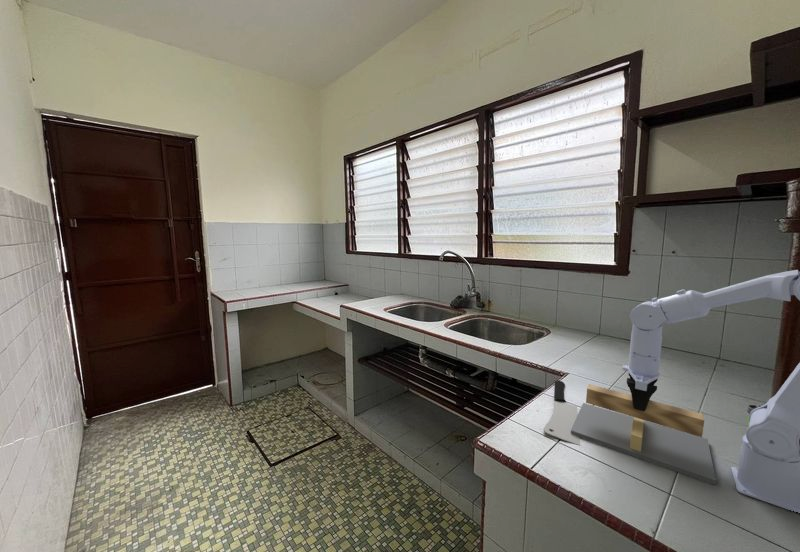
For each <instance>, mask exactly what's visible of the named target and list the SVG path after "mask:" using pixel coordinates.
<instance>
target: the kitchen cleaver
mask: <svg viewBox="0 0 800 552" xmlns="http://www.w3.org/2000/svg"><path fill="white" fill-rule="evenodd" d="M553 383H554V384H553V385H554V386H553V387H554V388H553V389H554V391H553V392H554V393H553V401H554V403H553V412H552V415H551V417H550V418H549V421H548V423H546V425H545V426H544V427H543V432H544V433H545V434H548V435H549V436H552V437H554V438H557V439H558V440H559V439H560V440H562V441H565V442H568V443H570V444H574V445H577V446H581V437H578V436H576V435H574V434H571V429H572V426H573V424H574V422H575V420H576V418H577V415H578V413H579V411H578V405H573V404H571V403H568V402H567V400H566V399H565V393H564V392H565V387H566V384H565V383H564V382H563V381H562V380H555V381H554V382H553Z"/></svg>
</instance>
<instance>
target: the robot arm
mask: <svg viewBox="0 0 800 552" xmlns="http://www.w3.org/2000/svg"><path fill="white" fill-rule="evenodd" d="M792 296H795V297H796V299H797V300H798V301H800V271H799V270H798V269H794V270H788V271H783V272H777V273H773V274H767V275H764V276H761V277H757V278H752V279H750V280H746V281H743V282H740V283H739V282H738V283H735V284H733V285H732V284H731V285H729V286H726V287H721V288H718V289H716V290H715V289H714V290H712V291H708V292H707V291H706V292H700V291H697V290H693V289H691V290H690V289H689V290H687V291H686V289H684V288H683V289H681V290H677V291H676V293H675V294H673V295H668V296H665V297H661V298H658V297H653V298H651V301H649V300H648V301H644V302H642V303H640V304H638V305H637V306H634V307H633V308H632V309H631V310H630V313H629V320H630V322H631V324H632V328H631V329H632V330H631V333H630V345H629V355H628V356H629V357H628V365H626V364H623V365H622V368H621V369H622V371H625V372H628V376H629V377H627V378H626V384H627V387H628V389H629V392H630V393H631V394H630V395H632V402H633V407H634V409H637V410H640V411H645V410H646V408H647V405H648V402H649V400H651V397H652V396H653V395H654V393H656V391H657V390H658V386H657V385H655V384H656V383H657V382H658V379H659V378H660V375H661V374H660V366H661V365H660V363H661V355H662V354H661V352H662V343H663V324H669V325H670V324H675V323H680V322H684V321H689V320H694V319H698V318H702V317H706V316H707V315H708V314H709V312H710V311H711V309H713V308H718V307H723V306H728V305H733V304H738V303H742V302H748V301H753V300H758V299H762V298H770V299H775V300H778V301H786V302H791V301H792V300H791V298H792ZM739 452H740V453H739V458H738V465H737V466H738V467H736V466H731V467H730V470H731V473H732V477H733V480H734V483H735V488H736V491H737V492H738V493H740V494H743V495H745V496H749V497H751V498H754V499H757V500H759V501H762V502H765V503H768V504H771V505H773V506H777V507H779V508H783V509H786V510H788V511H790V510H791V512H793V511H794V512H793V513H796V512H800V362H799V363H798V364H797V365H796V367H795V368H794V370H793V371H792V372H791V373H790V374H789V376H788V377H787V379H786V380H785V381H784V383H783V384H782V385H781V387H780V388H779V389H778V391H776V394H775V395H774V396H772V397H770V399H768V400H767V402H766V403H765V404H764V405H762V406H758V407H755V408H753V410H751V412H750V413H749V424H748V427H747V428H746V431H745V434H743V436H742V440H741V447H740V451H739Z"/></svg>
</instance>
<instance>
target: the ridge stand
mask: <svg viewBox="0 0 800 552" xmlns="http://www.w3.org/2000/svg"><path fill="white" fill-rule="evenodd" d="M571 434H574V435H576V436H578V437H580V439H583V440H587V441H590V442H593V443H595V444H598V445H601V446H604V447H607V448H609V449H612V450H615V451H617V452H621V453H623V454H627V455H629V456H633V457H634V458H638V459H641V460H643V461H646V462H648V463H652V464H655V465H657V466H660V467H663V468H665V469H669V470H672V471H674V472H677V473H681V474H683V475H685V476H688V477H691V478H694V479H697V480H700V481H702V482H706V483H709V484H711V485H714V486H715V485H716V482H717V479H716V475H715V468H714V464H713V458H712V454H711V449H710V444H709V440H708V438H705V437H703V436H702V437H699V436H696V435H692V434H689V433H686V432H682V431H679V430H676V429H672V428H669V427H665V426H662V425H659V424H655V423H652V422H649V421H645V420H642V419H639V418H635V417H632V416H629V415H625V414H622V413H619V412H615V411H612V410H608V409H605V408H602V407H598V406H595V405H592V404H588V403H586V402H583V403H582V405H581V407H580V409H579V411H578V415H577V418H576V420H575V422H574V424H573V426H572V429H571Z"/></svg>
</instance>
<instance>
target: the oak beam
mask: <svg viewBox="0 0 800 552" xmlns="http://www.w3.org/2000/svg"><path fill="white" fill-rule="evenodd" d="M585 399H586V400H585V403H586V404H589V405H592V406H596V407H599V408H603V409H606V410H610V411H613V412H617V413H620V414H623V415H627V416H630V417H635V418H639V419H642V420H644V421H647V422H651V423H654V424H658V425H661V426H665V427H668V428H672V429H675V430H678V431H682V432H685V433H689V434H692V435H696V436H699V437H702V438H703V432H704V424H705V418H704V414H703V413H700V412H697V411H693V410H689V409H685V408H681V407H678V406H674V405H670V404H666V403H663V402H659V401H655V400H651V399H649V402H648V405H647V408H646V410H645V411H640V410H637V409H634V407H633V402H632V395H631V394H629V393H624V392H621V391H616V390H613V389H610V388H606V387H602V386H598V385H593V384H591V383H590V384H588V386H587V388H586V398H585Z"/></svg>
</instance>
